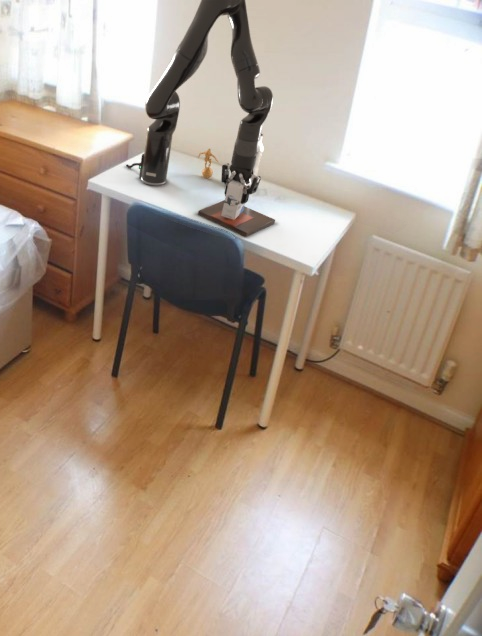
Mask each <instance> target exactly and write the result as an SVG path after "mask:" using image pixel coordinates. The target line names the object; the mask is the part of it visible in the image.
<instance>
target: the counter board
mask: <svg viewBox="0 0 482 636" xmlns="http://www.w3.org/2000/svg"><path fill="white" fill-rule="evenodd" d="M224 202H225V199H224V200H221V201H217V202H216V203H214V204H211V205H209V206H206V207H204V208H202V209H199V210H198V212H197V215H198V216H200V217H202V218H204V219H206V220H209V221H210V222H212V223H215V224H217V225H219V226H222V227H224V228H226V229H227V230H230V231H232V232H234V233H236V234H239V235H241V236H243V237H245V238H247V237H250V236H252V235H253V234H256V233H257V232H259V231H262V230H265V229H266V228H269V227H270V226H273V225H274V224H275V222H276V219H275V218H272V217H270V216H267V215H266V214H264V213H261V212H259V211H256V210H254V209H252V208H250V207H247V206H245V205H244V210H243V211H242V212H241V213H240V215H239V216H238V217H237V218H236V219H235V220H233V219H230V218H227V217H224V216H221V215H222V211H223V206H224Z"/></svg>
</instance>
